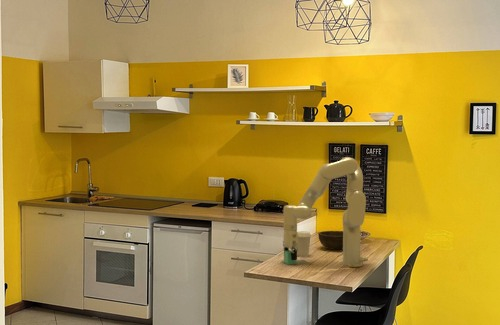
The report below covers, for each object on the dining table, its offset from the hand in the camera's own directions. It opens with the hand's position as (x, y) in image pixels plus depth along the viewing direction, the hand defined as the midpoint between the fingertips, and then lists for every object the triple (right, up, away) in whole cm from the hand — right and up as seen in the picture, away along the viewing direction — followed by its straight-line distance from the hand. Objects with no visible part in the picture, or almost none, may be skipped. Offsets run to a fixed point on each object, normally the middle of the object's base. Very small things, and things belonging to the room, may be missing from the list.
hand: (290, 258), depth 324 cm
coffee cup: (+9, -3, +21) cm, 23 cm away
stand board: (+4, -4, +2) cm, 6 cm away
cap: (0, -3, 0) cm, 3 cm away
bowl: (+32, -2, +47) cm, 57 cm away
